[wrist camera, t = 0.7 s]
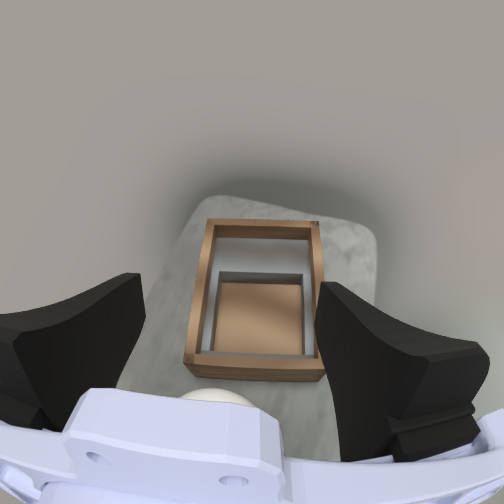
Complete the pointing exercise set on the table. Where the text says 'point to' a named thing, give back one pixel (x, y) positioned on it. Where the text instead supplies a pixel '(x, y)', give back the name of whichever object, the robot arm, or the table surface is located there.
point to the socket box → (256, 302)
